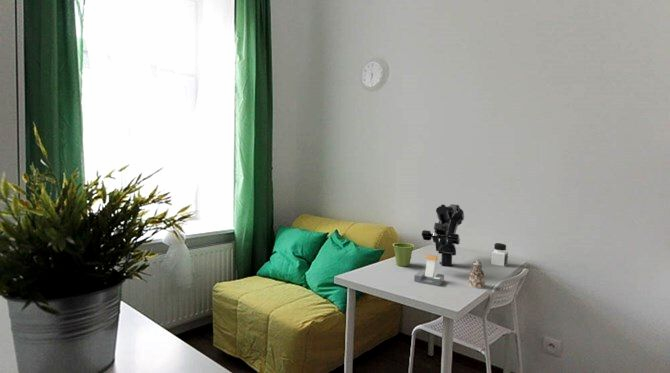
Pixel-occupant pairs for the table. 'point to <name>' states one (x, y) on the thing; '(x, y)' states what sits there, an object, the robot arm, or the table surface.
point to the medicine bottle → (499, 255)
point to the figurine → (477, 276)
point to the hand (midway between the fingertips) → (436, 250)
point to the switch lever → (430, 265)
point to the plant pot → (403, 253)
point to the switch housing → (429, 278)
